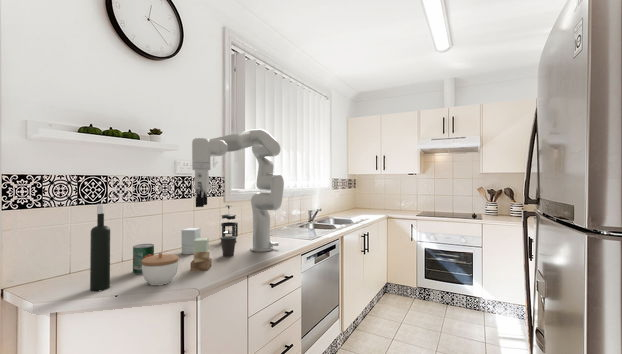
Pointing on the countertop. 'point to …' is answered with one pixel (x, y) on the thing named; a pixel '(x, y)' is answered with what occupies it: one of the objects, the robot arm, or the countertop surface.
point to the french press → (229, 224)
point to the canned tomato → (141, 256)
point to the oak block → (201, 256)
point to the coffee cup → (228, 245)
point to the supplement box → (189, 239)
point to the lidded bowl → (159, 268)
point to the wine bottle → (100, 253)
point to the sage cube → (201, 245)
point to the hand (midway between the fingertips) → (201, 205)
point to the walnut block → (201, 265)
